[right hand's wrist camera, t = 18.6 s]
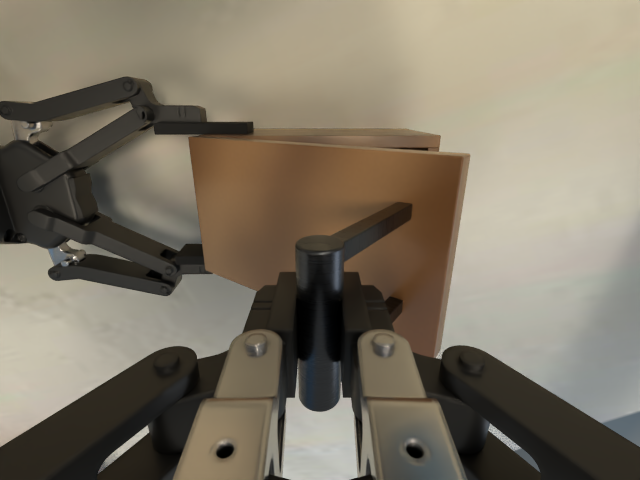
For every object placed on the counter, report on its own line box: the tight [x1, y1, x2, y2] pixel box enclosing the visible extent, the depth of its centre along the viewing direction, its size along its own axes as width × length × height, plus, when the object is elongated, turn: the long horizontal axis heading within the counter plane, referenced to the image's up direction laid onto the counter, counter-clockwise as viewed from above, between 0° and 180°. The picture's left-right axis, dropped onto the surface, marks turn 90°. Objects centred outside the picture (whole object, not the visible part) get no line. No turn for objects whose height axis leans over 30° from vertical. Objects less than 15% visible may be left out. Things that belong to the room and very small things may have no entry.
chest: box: [199, 129, 441, 152], centre depth 29 cm, size 16×9×9 cm, turn 90°
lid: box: [188, 136, 470, 412], centre depth 17 cm, size 17×9×8 cm
